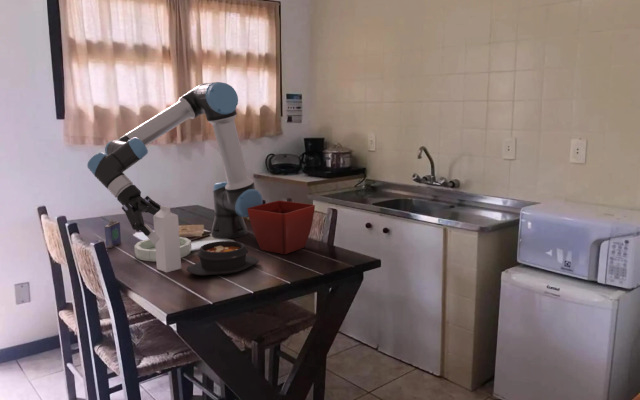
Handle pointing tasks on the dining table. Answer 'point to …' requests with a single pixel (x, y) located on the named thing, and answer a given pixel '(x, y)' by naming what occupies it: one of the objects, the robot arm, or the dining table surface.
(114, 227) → the flask
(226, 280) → the dining table surface
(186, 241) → the bowl
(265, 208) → the plant pot
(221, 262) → the casserole
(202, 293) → the dining table surface
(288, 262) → the dining table surface
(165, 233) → the milk
